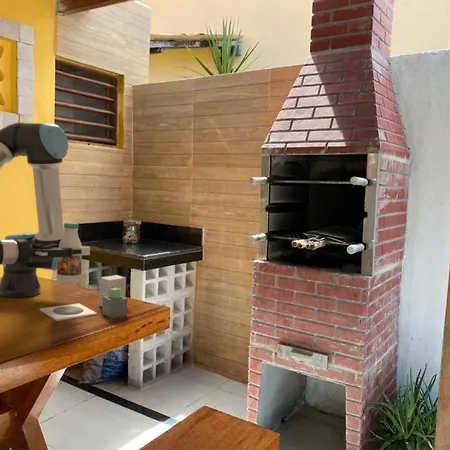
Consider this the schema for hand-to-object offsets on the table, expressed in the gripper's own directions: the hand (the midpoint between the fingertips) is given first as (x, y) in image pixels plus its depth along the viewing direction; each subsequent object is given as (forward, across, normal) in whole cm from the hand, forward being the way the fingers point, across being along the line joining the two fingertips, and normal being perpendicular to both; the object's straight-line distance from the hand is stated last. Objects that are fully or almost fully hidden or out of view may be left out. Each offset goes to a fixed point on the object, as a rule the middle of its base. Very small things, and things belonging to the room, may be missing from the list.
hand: (83, 249), depth 158 cm
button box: (+8, +10, -22) cm, 25 cm away
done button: (+8, +10, -18) cm, 22 cm away
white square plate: (-4, 0, -22) cm, 22 cm away
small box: (+13, -1, -22) cm, 25 cm away
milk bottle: (-5, 0, -11) cm, 12 cm away
